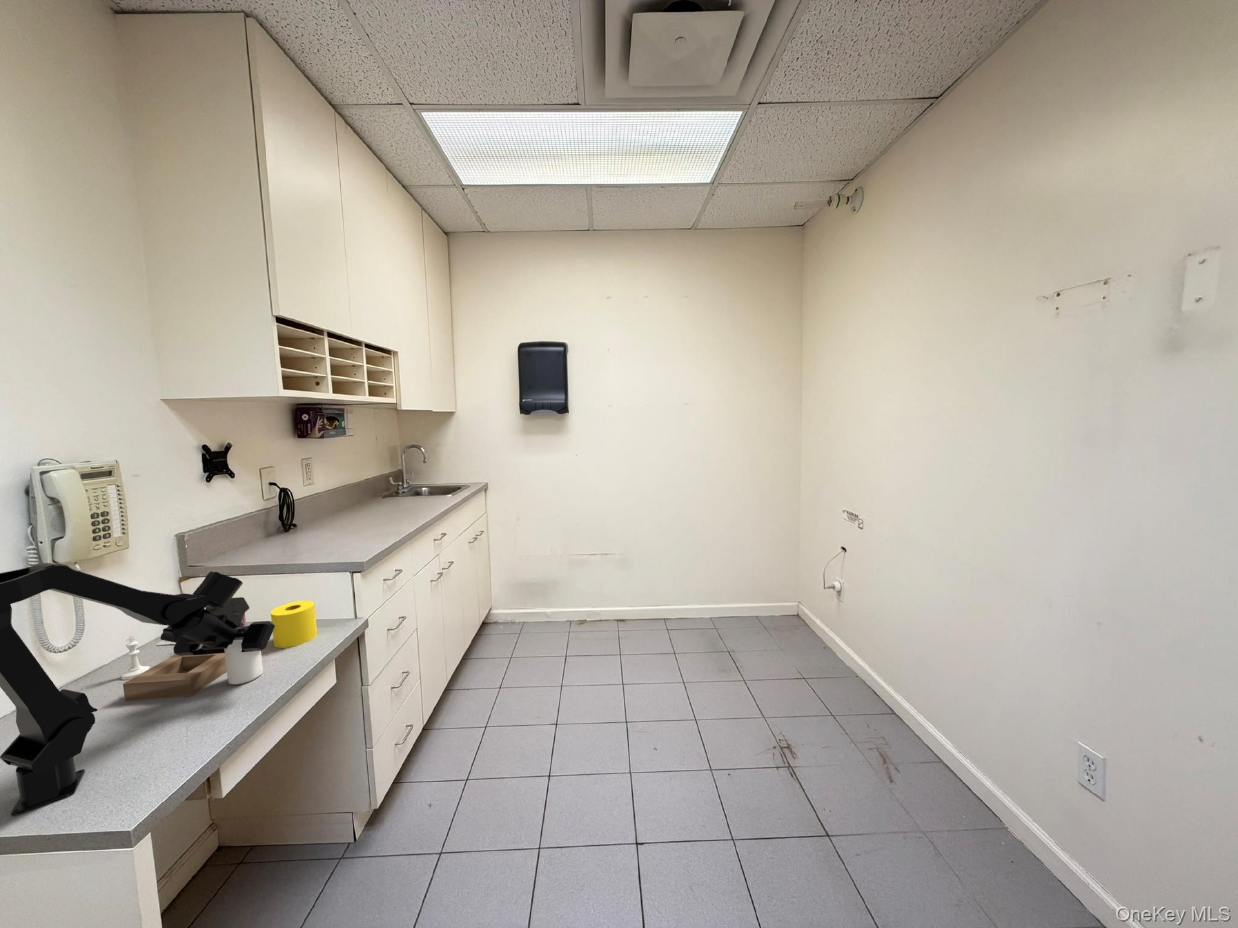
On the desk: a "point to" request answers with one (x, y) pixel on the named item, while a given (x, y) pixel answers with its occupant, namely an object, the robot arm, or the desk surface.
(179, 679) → the bored block
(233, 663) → the can
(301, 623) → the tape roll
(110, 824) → the desk surface
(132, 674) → the chess piece
